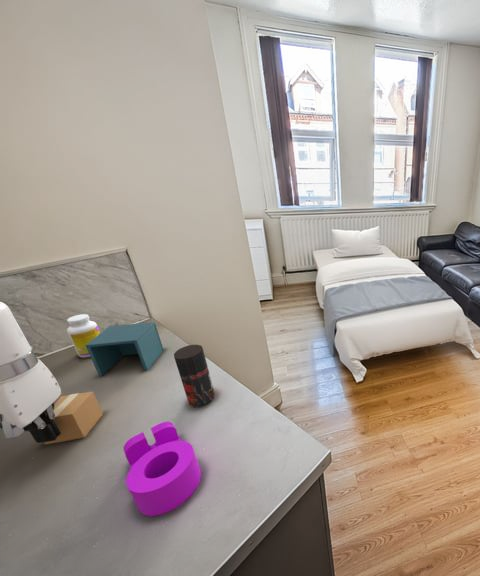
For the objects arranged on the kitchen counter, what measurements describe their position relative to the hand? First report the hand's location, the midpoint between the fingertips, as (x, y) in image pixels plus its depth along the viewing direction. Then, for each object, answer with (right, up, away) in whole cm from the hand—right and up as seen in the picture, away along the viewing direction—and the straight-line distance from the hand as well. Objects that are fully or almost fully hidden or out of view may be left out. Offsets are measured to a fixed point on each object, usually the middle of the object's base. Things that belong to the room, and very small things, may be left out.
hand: (49, 438), depth 59 cm
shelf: (-8, +8, +29) cm, 32 cm away
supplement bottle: (-25, +10, +34) cm, 43 cm away
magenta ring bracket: (+27, -6, -3) cm, 28 cm away
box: (-2, -1, +7) cm, 7 cm away
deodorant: (+22, +2, +16) cm, 27 cm away
